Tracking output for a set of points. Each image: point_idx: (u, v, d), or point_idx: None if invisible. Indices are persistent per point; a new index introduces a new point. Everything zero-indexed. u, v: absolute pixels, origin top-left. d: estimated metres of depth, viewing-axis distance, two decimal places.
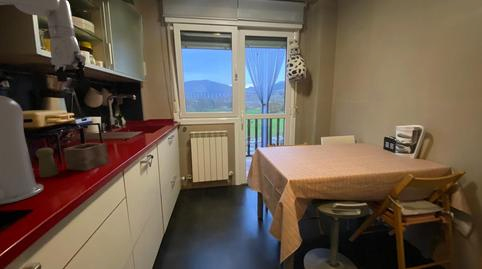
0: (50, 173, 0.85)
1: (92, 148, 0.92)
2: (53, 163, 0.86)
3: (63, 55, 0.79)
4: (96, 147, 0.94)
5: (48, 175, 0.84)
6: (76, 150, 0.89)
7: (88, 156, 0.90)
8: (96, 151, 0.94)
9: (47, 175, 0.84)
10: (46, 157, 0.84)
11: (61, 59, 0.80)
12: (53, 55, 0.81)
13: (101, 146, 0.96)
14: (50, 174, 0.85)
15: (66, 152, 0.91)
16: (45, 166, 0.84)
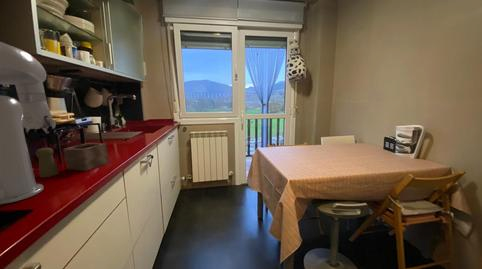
0: (50, 173, 0.85)
1: (92, 148, 0.92)
2: (53, 163, 0.86)
3: (33, 120, 0.80)
4: (96, 147, 0.94)
5: (48, 175, 0.84)
6: (76, 150, 0.89)
7: (88, 156, 0.90)
8: (96, 151, 0.94)
9: (47, 175, 0.84)
10: (46, 157, 0.84)
11: (31, 124, 0.80)
12: (23, 119, 0.81)
13: (101, 146, 0.96)
14: (50, 174, 0.85)
15: (66, 152, 0.91)
16: (45, 166, 0.84)
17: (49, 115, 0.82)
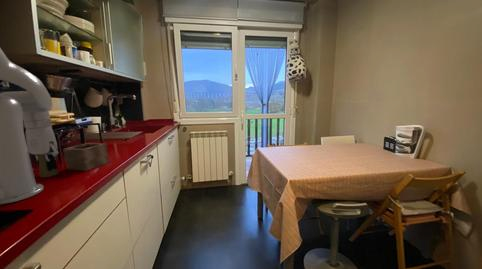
0: (50, 173, 0.85)
1: (92, 148, 0.92)
2: None
3: (38, 147, 0.81)
4: (96, 147, 0.94)
5: (48, 175, 0.85)
6: (76, 150, 0.89)
7: (88, 156, 0.90)
8: (96, 151, 0.94)
9: (47, 175, 0.84)
10: None
11: (36, 150, 0.82)
12: (29, 145, 0.83)
13: (101, 146, 0.96)
14: (50, 174, 0.85)
15: (66, 152, 0.91)
16: (45, 166, 0.84)
17: (54, 140, 0.84)
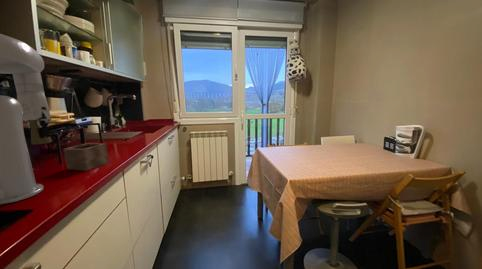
0: (42, 140, 0.82)
1: (92, 148, 0.92)
2: None
3: (30, 111, 0.79)
4: (96, 147, 0.94)
5: (40, 142, 0.82)
6: (76, 150, 0.89)
7: (88, 156, 0.90)
8: (96, 151, 0.94)
9: (39, 142, 0.81)
10: None
11: (28, 115, 0.79)
12: None
13: (101, 146, 0.96)
14: (42, 141, 0.82)
15: (66, 152, 0.91)
16: (37, 133, 0.81)
17: (46, 106, 0.81)
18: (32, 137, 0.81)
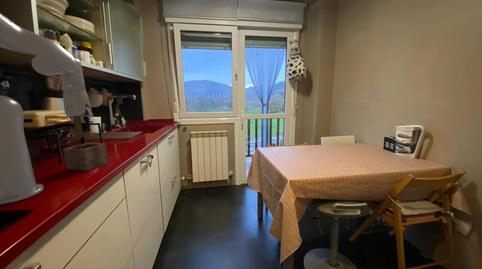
0: (85, 134, 0.92)
1: (92, 148, 0.92)
2: None
3: (75, 108, 0.88)
4: (96, 147, 0.94)
5: (83, 136, 0.92)
6: (76, 150, 0.89)
7: (88, 156, 0.90)
8: (96, 151, 0.94)
9: (82, 136, 0.91)
10: None
11: (73, 112, 0.89)
12: (66, 107, 0.90)
13: (101, 146, 0.96)
14: (85, 135, 0.92)
15: (66, 152, 0.91)
16: (81, 128, 0.91)
17: (89, 104, 0.91)
18: (76, 131, 0.91)
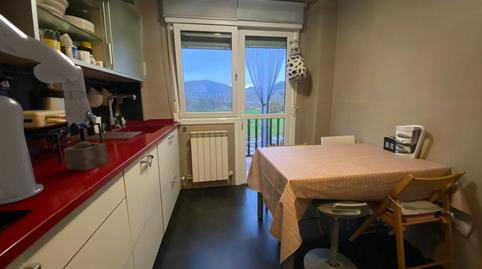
0: None
1: (92, 148, 0.92)
2: None
3: (76, 115, 0.89)
4: (96, 147, 0.94)
5: None
6: (76, 150, 0.89)
7: (88, 156, 0.90)
8: (96, 151, 0.94)
9: None
10: None
11: (74, 119, 0.89)
12: (67, 114, 0.90)
13: (101, 146, 0.96)
14: None
15: (66, 152, 0.91)
16: None
17: (90, 111, 0.91)
18: None
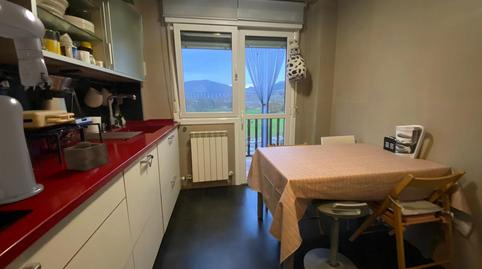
0: None
1: (92, 148, 0.92)
2: None
3: (30, 76, 0.83)
4: (96, 147, 0.94)
5: None
6: (76, 150, 0.89)
7: (88, 156, 0.90)
8: (96, 151, 0.94)
9: None
10: None
11: (28, 80, 0.83)
12: (21, 76, 0.84)
13: (101, 146, 0.96)
14: None
15: (66, 152, 0.91)
16: None
17: (45, 72, 0.85)
18: None
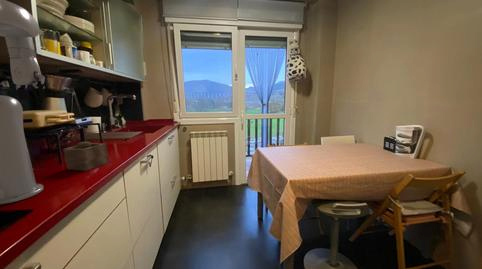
0: None
1: (92, 148, 0.92)
2: None
3: (22, 75, 0.82)
4: (96, 147, 0.94)
5: None
6: (76, 150, 0.89)
7: (88, 156, 0.90)
8: (96, 151, 0.94)
9: None
10: None
11: (21, 79, 0.82)
12: (13, 75, 0.83)
13: (101, 146, 0.96)
14: None
15: (66, 152, 0.91)
16: None
17: (38, 71, 0.85)
18: None
